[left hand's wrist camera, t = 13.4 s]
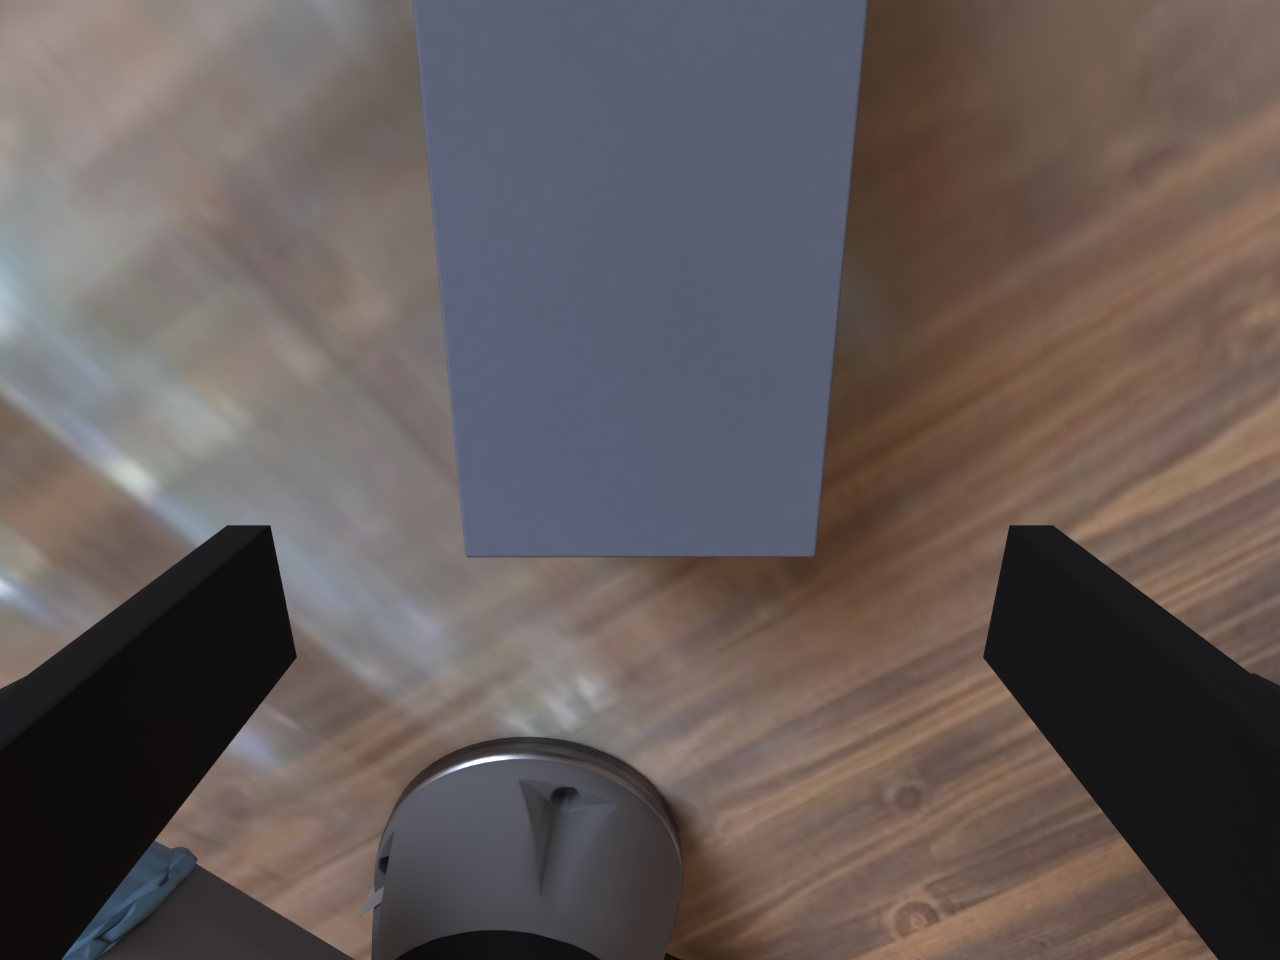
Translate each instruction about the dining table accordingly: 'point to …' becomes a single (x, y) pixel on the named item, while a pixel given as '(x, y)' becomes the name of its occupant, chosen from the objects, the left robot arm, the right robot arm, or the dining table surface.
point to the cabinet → (640, 266)
